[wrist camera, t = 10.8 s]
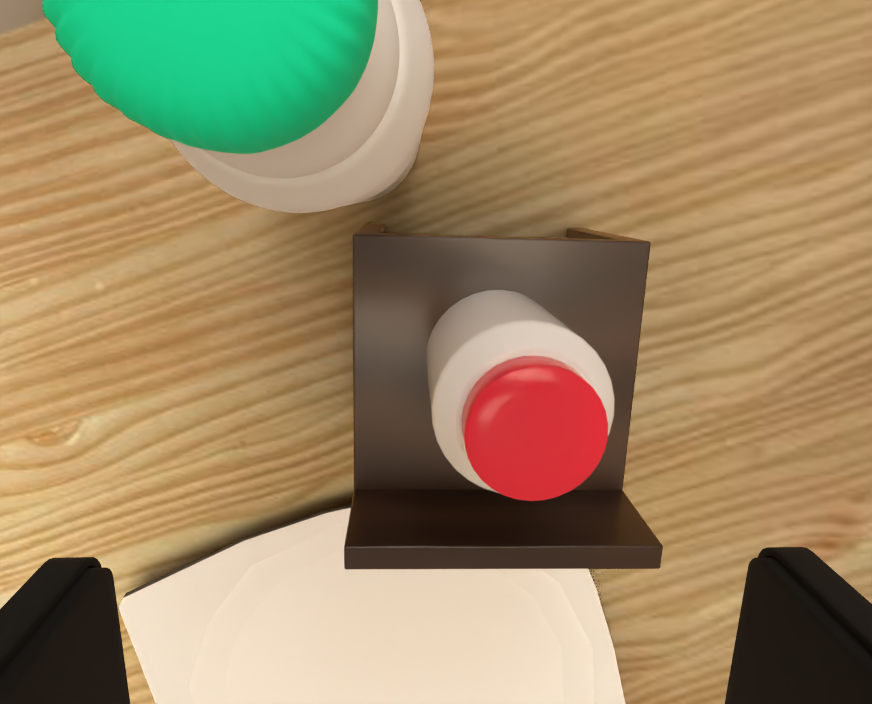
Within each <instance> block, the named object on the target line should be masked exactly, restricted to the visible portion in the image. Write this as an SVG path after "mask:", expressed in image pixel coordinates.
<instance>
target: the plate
mask: <svg viewBox="0 0 872 704" xmlns="http://www.w3.org/2000/svg"><path fill="white" fill-rule="evenodd" d="M350 510H351V505H347V506H342V507H338V508H334V509H329V510H325V511H322V512H319V513H316V514H313V515H310V516H307V517H304V518H301V519H298V520H295V521H293V522H290V523H287V524H284V525H281V526H278V527H275V528H272V529H269V530H266V531H263V532H260V533H257V534H254V535H251V536H248V537H245V538H243V539H241V540H239V541H237V542H235V543H233V544H230V545H228V546H226V547H224V548H222V549H220V550H218V551H215V552H213V553H211V554H209V555H207V556H205V557H203V558H200V559H198V560H196V561H194V562H192V563H190V564H187V565H185V566H183V567H181V568H179V569H177V570H175V571H172V572H170V573H168V574H166V575H164V576H162V577H160V578H157V579H155V580H153V581H151V582H149V583H147V584H145V585H142V586H140V587H138V588H136V589H134V590H132V591H130V592H127V593H126V594H125V596H124V598H123V599H122V601H121V604H120V606H119V611H120V613H121V616H122V618H123V621H124V623H125V626H126V629H127V631H128V634H129V636H130V639H131V641H132V644H133V647H134V649H135V652H136V654H137V657H138V659H139V662H140V665H141V667H142V670H143V672H144V675H145V677H146V680H147V683H148V685H149V688H150V690H151V693H152V695H153V698H154V701H155V703H156V704H625V700H624V695H623V690H622V685H621V680H620V675H619V670H618V665H617V661H616V656H615V651H614V646H613V643H612V639H611V636H610V633H609V629H608V626H607V623H606V619H605V616H604V613H603V609H602V606H601V603H600V599H599V596H598V593H597V589H596V586H595V583H594V581H593V579H592V576H591V574H590V572H589V569H345V568H344V544H345V539H346V533H347V527H348V522H349V516H350Z"/></svg>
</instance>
